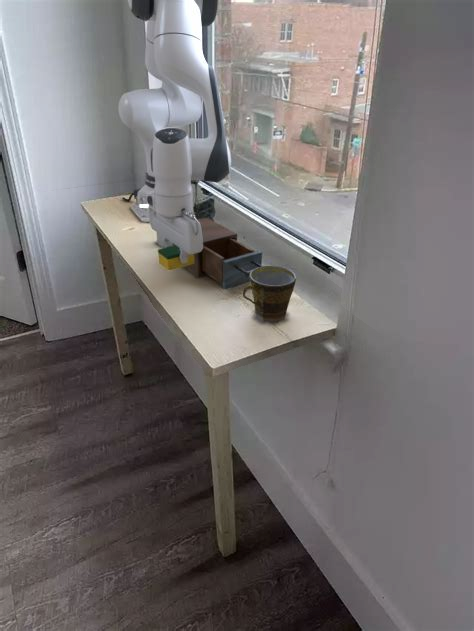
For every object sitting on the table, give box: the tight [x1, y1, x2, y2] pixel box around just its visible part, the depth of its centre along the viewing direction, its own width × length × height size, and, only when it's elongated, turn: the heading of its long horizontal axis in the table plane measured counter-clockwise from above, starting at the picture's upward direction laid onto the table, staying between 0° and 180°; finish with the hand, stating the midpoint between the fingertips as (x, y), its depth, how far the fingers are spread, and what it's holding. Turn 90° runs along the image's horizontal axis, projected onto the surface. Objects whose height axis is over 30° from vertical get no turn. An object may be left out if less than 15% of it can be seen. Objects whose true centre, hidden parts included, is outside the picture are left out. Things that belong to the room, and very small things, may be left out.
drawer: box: [200, 238, 263, 291], centre depth 126 cm, size 19×11×7 cm, turn 36°
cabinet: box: [173, 218, 238, 277], centre depth 136 cm, size 15×12×9 cm
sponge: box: [157, 245, 194, 272], centre depth 126 cm, size 5×7×4 cm
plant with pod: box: [191, 180, 216, 222], centre depth 150 cm, size 8×11×20 cm
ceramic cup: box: [242, 265, 297, 324], centre depth 111 cm, size 13×10×10 cm
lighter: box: [156, 232, 165, 248], centre depth 145 cm, size 7×2×8 cm, turn 33°
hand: (176, 257), depth 126 cm, fingers closed on sponge, 5 cm apart
